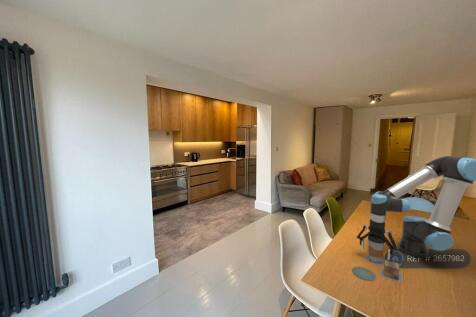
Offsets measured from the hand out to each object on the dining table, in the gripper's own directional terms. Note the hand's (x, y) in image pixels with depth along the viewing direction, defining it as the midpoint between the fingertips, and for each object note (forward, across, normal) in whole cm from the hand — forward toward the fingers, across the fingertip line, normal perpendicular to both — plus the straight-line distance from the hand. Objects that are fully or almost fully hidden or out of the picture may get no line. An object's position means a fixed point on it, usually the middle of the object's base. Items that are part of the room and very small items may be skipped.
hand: (375, 254), depth 122 cm
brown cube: (+4, -9, +10) cm, 14 cm away
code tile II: (+4, -9, +10) cm, 14 cm away
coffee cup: (+4, 0, 0) cm, 4 cm away
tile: (+4, 0, 0) cm, 4 cm away
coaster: (+4, +2, +19) cm, 19 cm away
